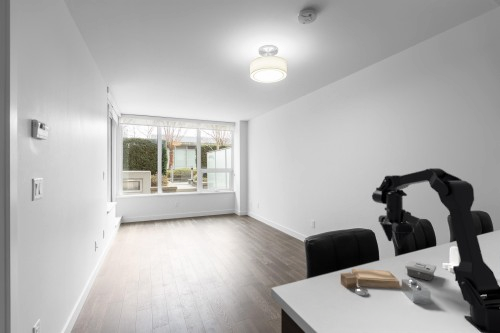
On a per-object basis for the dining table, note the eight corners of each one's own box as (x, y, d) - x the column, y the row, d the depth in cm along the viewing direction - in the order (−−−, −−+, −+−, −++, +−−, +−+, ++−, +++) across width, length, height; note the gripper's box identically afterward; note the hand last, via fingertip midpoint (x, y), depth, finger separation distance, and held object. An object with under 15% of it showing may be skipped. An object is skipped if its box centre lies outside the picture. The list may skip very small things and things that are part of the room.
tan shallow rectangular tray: (399, 288, 88) (399, 280, 88) (358, 285, 90) (358, 278, 90) (389, 277, 97) (389, 270, 97) (351, 275, 99) (351, 268, 99)
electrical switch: (434, 273, 92) (405, 261, 98) (430, 285, 92) (402, 274, 98) (437, 265, 98) (410, 255, 105) (434, 277, 99) (408, 267, 105)
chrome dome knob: (369, 297, 82) (369, 293, 82) (356, 296, 83) (356, 292, 83) (365, 291, 86) (365, 287, 86) (353, 290, 87) (353, 286, 87)
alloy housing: (430, 305, 77) (430, 289, 77) (413, 304, 78) (413, 287, 78) (417, 292, 85) (417, 277, 85) (401, 291, 86) (401, 276, 86)
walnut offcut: (356, 288, 89) (356, 277, 89) (346, 289, 88) (346, 278, 88) (350, 283, 92) (350, 272, 92) (340, 284, 92) (340, 273, 92)
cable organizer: (442, 267, 106) (441, 244, 106) (466, 268, 105) (466, 245, 105) (450, 272, 101) (450, 248, 101) (476, 273, 100) (476, 249, 100)
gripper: (429, 210, 89) (429, 253, 89) (405, 203, 108) (405, 238, 108) (396, 209, 91) (396, 252, 91) (378, 202, 110) (378, 237, 110)
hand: (394, 244), depth 100 cm, fingers open, 9 cm apart
